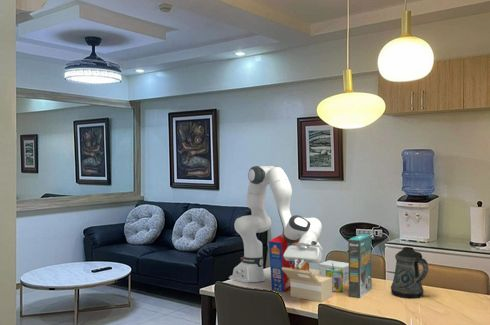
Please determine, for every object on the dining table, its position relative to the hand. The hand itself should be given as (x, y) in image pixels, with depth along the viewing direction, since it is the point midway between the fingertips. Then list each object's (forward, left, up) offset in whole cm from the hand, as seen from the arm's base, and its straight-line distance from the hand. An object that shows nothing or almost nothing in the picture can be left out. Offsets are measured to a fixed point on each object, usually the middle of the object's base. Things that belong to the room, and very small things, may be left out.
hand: (297, 267), depth 239 cm
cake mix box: (+17, +38, -18) cm, 45 cm away
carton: (-1, +16, -18) cm, 24 cm away
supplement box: (-8, +60, -18) cm, 63 cm away
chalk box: (+3, +35, -18) cm, 39 cm away
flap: (-1, +9, -8) cm, 12 cm away
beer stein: (+40, +49, -18) cm, 66 cm away
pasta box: (-21, +28, -16) cm, 39 cm away
